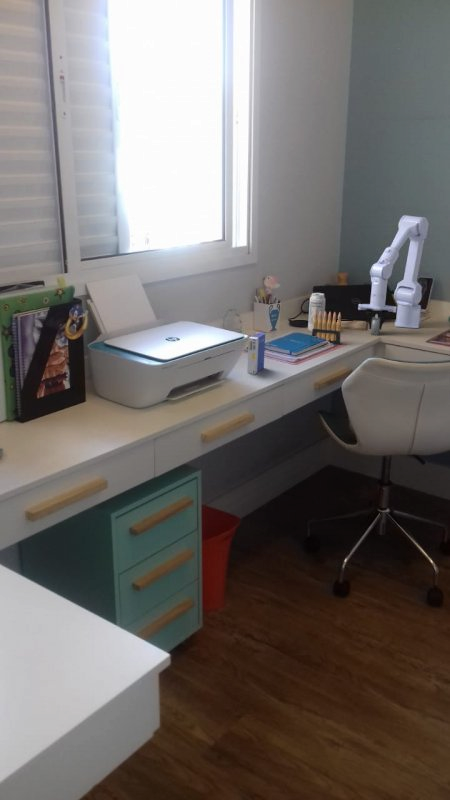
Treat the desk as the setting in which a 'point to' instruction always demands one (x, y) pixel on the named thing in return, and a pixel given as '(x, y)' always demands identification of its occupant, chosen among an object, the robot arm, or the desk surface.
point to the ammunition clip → (329, 331)
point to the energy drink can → (316, 308)
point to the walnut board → (353, 325)
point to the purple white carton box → (256, 353)
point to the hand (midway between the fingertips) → (375, 328)
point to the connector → (375, 325)
